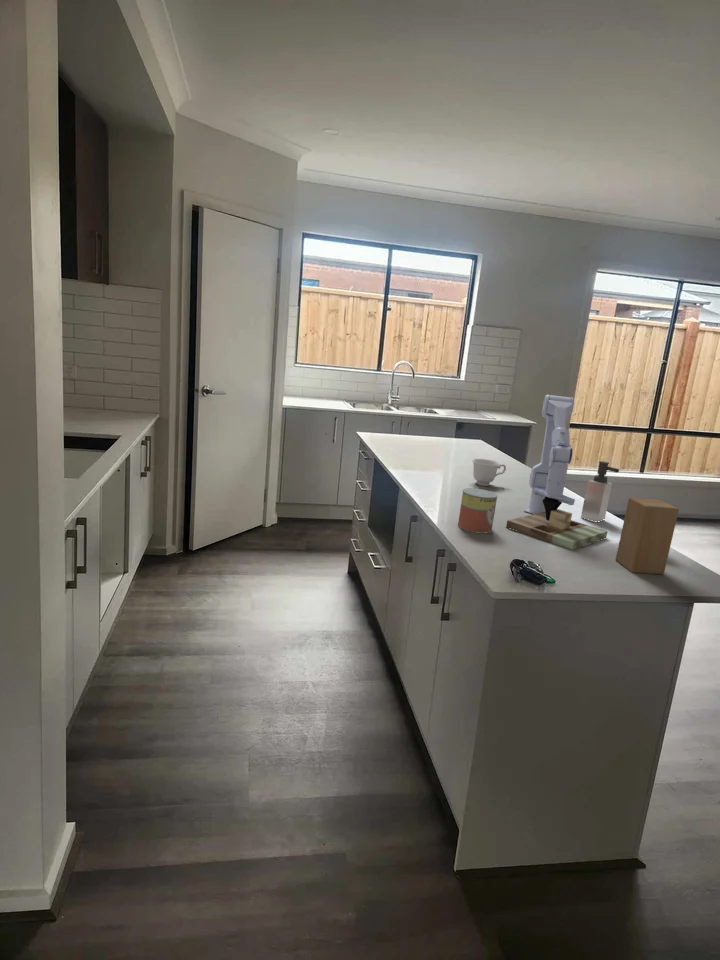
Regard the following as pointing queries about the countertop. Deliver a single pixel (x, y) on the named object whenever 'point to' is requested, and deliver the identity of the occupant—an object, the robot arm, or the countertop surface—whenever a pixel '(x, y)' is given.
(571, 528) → the trap board
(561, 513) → the maple cube
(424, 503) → the countertop surface
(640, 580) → the countertop surface
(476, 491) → the canned food
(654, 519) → the wooden block
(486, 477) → the teacup
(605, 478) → the soap dispenser
